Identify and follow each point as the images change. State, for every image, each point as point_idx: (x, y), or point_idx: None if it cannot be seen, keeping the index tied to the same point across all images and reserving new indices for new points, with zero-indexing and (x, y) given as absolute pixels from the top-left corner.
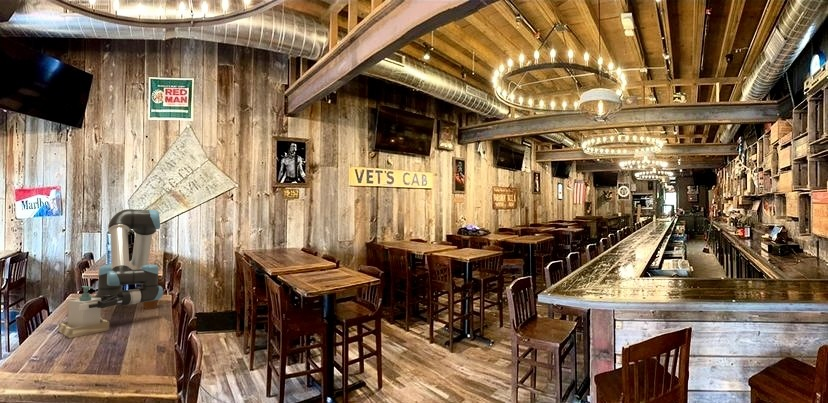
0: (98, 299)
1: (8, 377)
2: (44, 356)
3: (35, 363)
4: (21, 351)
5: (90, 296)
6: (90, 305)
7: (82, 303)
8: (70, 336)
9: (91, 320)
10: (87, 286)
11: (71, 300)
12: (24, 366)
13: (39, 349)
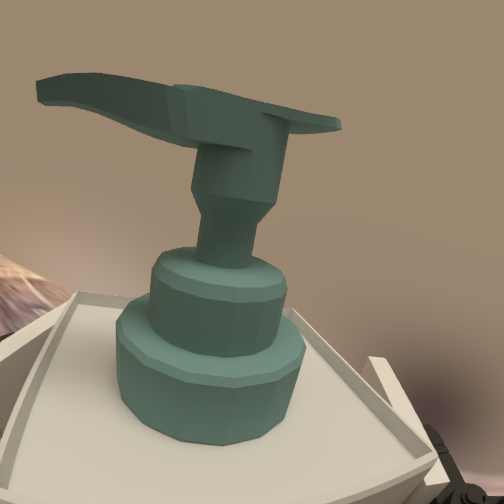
0: (4, 443)
1: (24, 269)
2: (33, 320)
3: (22, 297)
4: None
5: (127, 335)
6: (7, 337)
7: (87, 308)
8: None
9: None
10: (268, 105)
11: (299, 323)
12: (33, 290)
13: None
